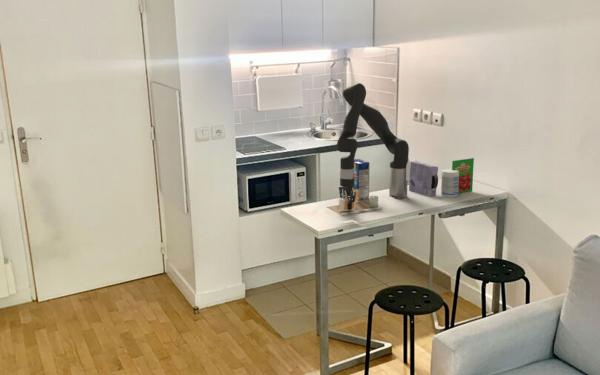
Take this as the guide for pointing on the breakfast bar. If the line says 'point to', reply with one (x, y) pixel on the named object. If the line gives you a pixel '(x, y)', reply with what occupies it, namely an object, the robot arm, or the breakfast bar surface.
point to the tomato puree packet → (464, 174)
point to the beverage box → (361, 179)
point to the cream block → (345, 204)
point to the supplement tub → (450, 183)
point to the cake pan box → (423, 178)
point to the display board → (359, 208)
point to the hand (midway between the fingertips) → (347, 208)
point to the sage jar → (373, 201)
